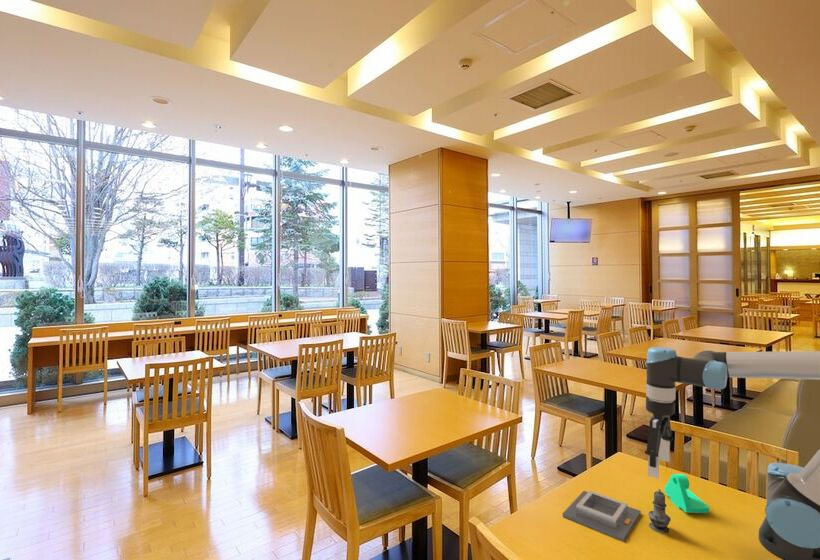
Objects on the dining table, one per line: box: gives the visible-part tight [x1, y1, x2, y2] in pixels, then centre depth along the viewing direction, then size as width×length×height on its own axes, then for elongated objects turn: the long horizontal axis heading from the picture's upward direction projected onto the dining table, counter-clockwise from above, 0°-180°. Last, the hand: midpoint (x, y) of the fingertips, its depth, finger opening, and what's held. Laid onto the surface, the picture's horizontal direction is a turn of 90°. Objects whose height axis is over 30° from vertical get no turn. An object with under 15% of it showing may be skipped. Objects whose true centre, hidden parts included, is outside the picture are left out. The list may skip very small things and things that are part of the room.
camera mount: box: [664, 473, 710, 514], centre depth 138 cm, size 12×8×10 cm, turn 178°
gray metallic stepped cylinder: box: [647, 488, 672, 534], centre depth 126 cm, size 6×6×12 cm
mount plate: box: [562, 490, 642, 542], centre depth 132 cm, size 18×18×4 cm
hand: (658, 468), depth 125 cm, fingers open, 13 cm apart
